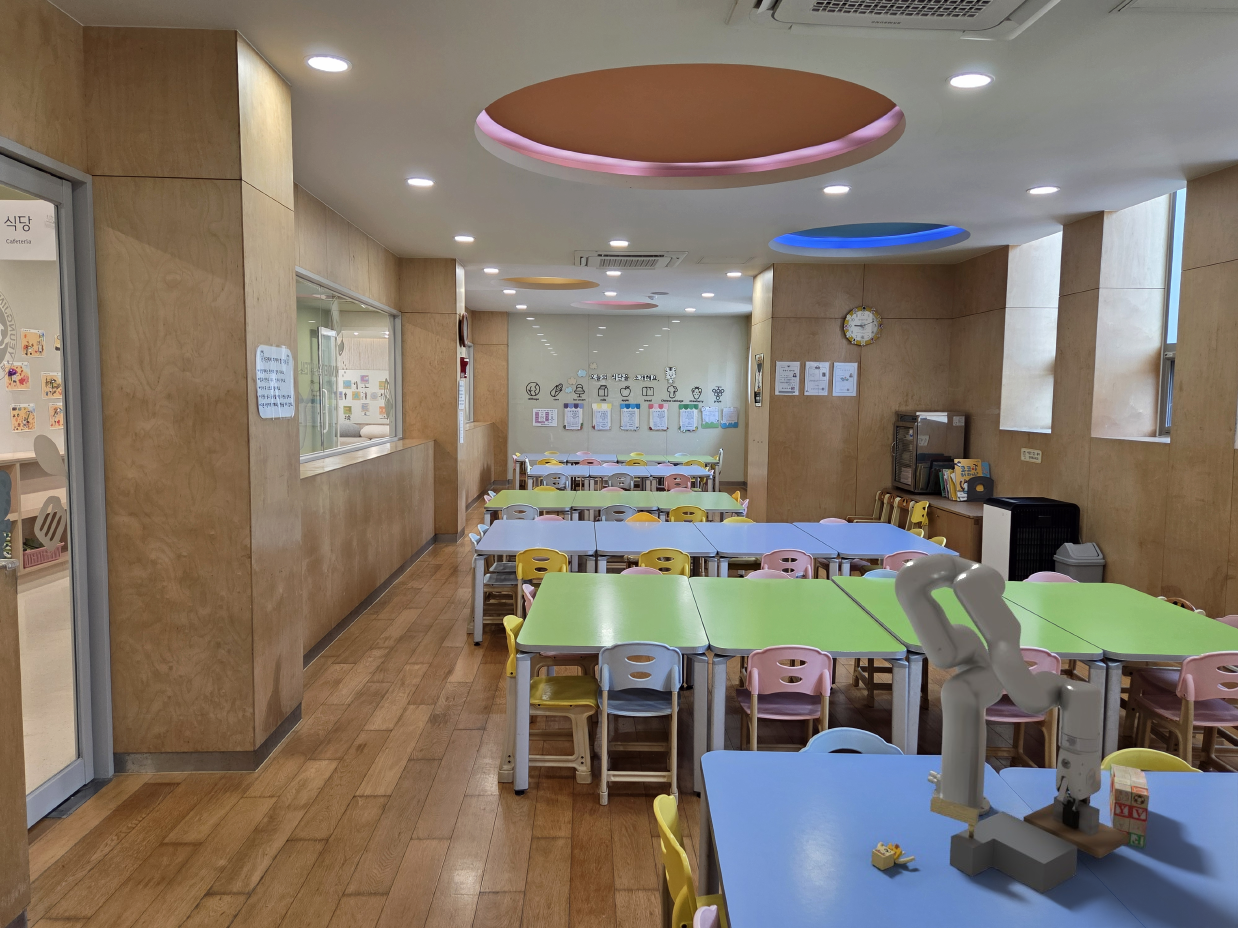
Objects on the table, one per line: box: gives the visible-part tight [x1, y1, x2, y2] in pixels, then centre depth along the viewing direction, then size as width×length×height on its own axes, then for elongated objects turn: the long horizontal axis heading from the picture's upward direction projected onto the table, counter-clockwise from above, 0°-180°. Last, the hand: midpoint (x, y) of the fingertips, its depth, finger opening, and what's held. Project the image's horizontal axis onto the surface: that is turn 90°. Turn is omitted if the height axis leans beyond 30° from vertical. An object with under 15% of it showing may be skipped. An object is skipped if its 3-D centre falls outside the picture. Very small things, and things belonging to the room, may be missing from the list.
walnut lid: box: [1022, 795, 1129, 859], centre depth 169 cm, size 16×12×6 cm
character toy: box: [870, 841, 916, 871], centre depth 163 cm, size 8×3×8 cm
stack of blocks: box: [1109, 763, 1150, 849], centre depth 180 cm, size 21×6×12 cm, turn 150°
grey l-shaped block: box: [949, 811, 1078, 894], centre depth 161 cm, size 16×19×6 cm
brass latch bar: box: [929, 796, 980, 838], centre depth 164 cm, size 2×9×6 cm, turn 51°
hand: (1075, 822), depth 169 cm, fingers closed on walnut lid, 3 cm apart
